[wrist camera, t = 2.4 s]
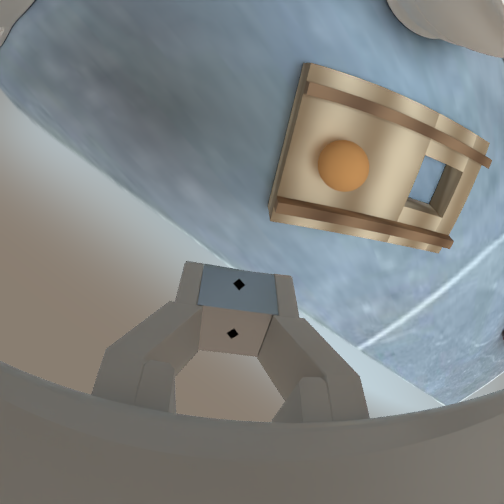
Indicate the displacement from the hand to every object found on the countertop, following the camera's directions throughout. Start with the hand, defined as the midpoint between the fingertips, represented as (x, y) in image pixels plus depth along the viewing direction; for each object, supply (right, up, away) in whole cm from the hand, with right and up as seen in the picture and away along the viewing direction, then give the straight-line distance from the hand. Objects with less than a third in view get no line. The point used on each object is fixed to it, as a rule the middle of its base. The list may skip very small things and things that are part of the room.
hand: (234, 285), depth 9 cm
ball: (+7, +7, +12) cm, 16 cm away
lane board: (+13, +10, +17) cm, 24 cm away
